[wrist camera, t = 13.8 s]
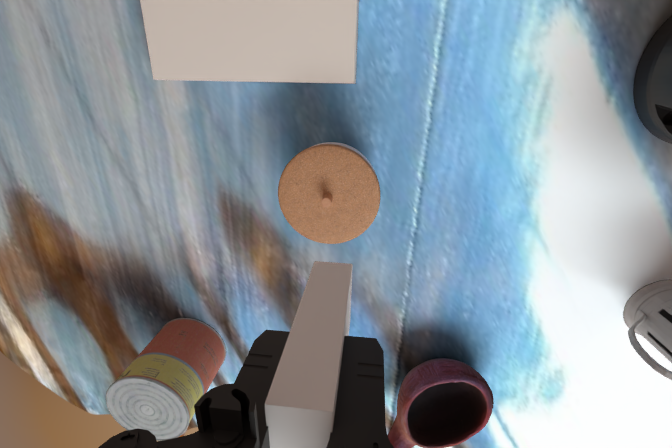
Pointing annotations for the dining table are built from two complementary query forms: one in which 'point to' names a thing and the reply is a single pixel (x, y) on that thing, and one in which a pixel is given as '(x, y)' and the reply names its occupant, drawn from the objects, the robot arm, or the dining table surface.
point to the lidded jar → (329, 193)
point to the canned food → (167, 379)
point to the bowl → (440, 405)
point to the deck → (252, 40)
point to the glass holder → (652, 321)
